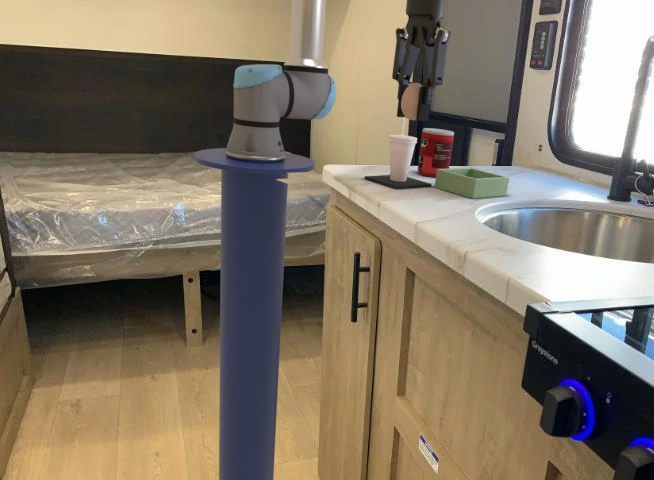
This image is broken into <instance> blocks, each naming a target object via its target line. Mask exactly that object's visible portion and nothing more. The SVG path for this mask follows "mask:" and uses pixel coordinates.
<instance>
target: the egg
mask: <svg viewBox="0 0 654 480" xmlns="http://www.w3.org/2000/svg"><path fill="white" fill-rule="evenodd" d="M408 85H409V86H408V87H407V88H406V90H405V92H404V93H403V96H402V100H401V109H402V112H403V114H404V115H405V119H408V120H410V121H417V120H416V117H417V108H418V100H419V92H420V87H422V86H421V83H419V82H412V84H408Z"/></svg>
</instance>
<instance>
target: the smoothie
mask: <svg viewBox="0 0 654 480" xmlns="http://www.w3.org/2000/svg"><path fill="white" fill-rule="evenodd" d="M405 124H406V117H402V121H401V130H400V134H389V135H388V141H389V175H390V180H393V181H399V182H405V181H406V180H407V177H409V176H408V175H409V171H410V167H411V163H412V159H413V155H414V151H415V147H416V144H418V137H415V136H411V135H404V131H405Z"/></svg>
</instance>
